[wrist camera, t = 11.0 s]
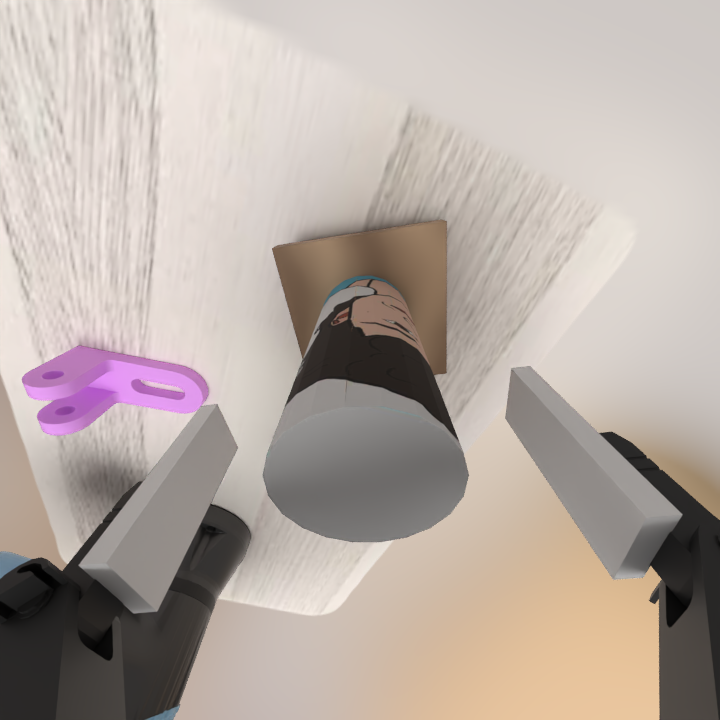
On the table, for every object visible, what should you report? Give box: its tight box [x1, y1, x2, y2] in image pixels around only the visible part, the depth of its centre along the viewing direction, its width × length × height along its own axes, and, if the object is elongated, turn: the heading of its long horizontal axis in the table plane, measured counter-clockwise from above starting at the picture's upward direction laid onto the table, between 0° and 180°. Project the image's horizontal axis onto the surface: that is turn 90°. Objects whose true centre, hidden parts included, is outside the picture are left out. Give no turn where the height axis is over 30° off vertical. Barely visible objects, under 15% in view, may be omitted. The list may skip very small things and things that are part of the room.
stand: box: [272, 220, 447, 375], centre depth 25 cm, size 12×12×5 cm
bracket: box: [22, 346, 208, 435], centre depth 29 cm, size 13×6×7 cm, turn 77°
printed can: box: [263, 276, 469, 542], centre depth 16 cm, size 7×7×15 cm
